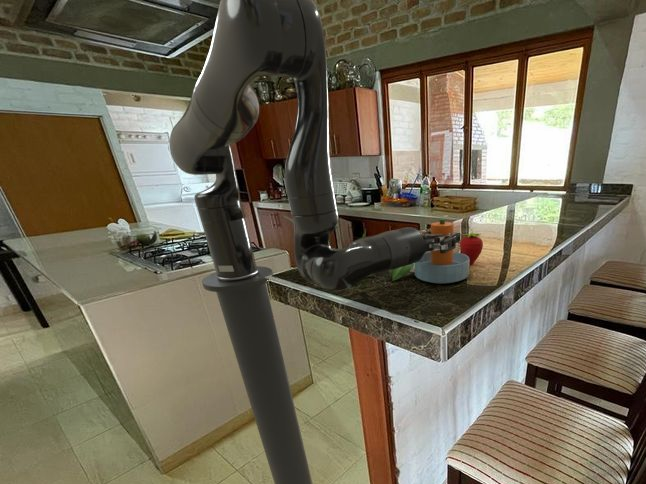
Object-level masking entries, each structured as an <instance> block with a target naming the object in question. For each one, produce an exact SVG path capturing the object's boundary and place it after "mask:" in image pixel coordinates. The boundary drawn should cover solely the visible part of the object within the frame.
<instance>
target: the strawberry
mask: <svg viewBox="0 0 646 484" xmlns="http://www.w3.org/2000/svg"><path fill="white" fill-rule="evenodd" d="M468 228H469V229H470V230H471V232H470V233H460V235H461V236H463V237H462V238H460V242H459V247H460V251H461V252H460V253H462V254H465V255H467V256H468V257H469V259H470V261H469V266H472V265H474V264H475V262H476V261H477V260H478V258H479V256H480V255H481V254H482V251H483V248H484V241H483V239H482V238H481V237H480V236H481V233H474V232H473V229H472V228H471V227H470V226H468Z"/></svg>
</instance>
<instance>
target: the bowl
mask: <svg viewBox="0 0 646 484" xmlns="http://www.w3.org/2000/svg"><path fill="white" fill-rule="evenodd" d="M469 261H470V259H469V257H468V256H467V255H465V254H463V253H462V252H457V251H453V263H452V264H449V265H434V264H432V263H431V252H430V253H424V255H423V257H422V258H421V260H420V261H418V262H416V263H414V267H413V269H414V276H415V278H416V279H419V280H420V281H423V282H427V283H430V284H431V283H432V284H440V285H441V284H452V283H456V282H459V281H463V280H465V279H467V278H468V277H469V276H470V264H469Z"/></svg>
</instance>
